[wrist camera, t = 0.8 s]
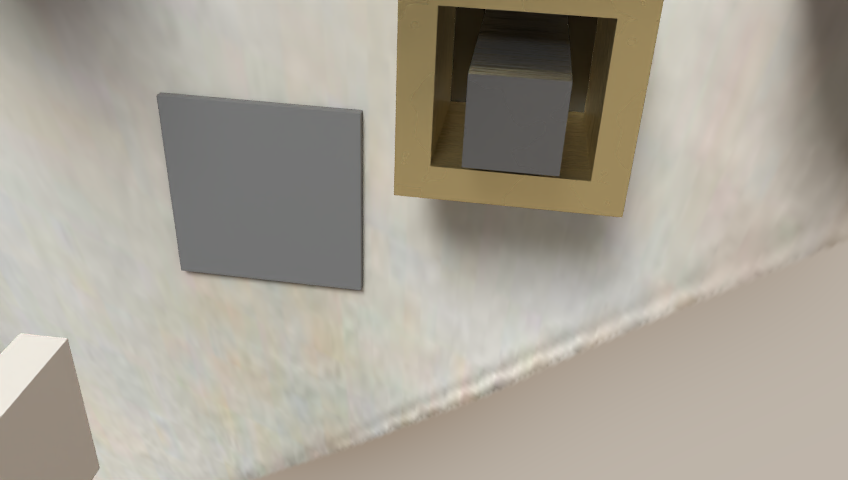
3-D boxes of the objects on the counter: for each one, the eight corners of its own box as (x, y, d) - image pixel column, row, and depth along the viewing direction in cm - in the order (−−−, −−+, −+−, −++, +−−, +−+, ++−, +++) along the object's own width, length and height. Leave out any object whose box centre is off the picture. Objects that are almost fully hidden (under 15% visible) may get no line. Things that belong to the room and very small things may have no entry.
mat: (184, 265, 39) (181, 270, 39) (160, 92, 34) (156, 95, 34) (362, 285, 38) (360, 290, 38) (362, 110, 33) (360, 113, 33)
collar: (420, 126, 33) (393, 195, 28) (427, -73, 29) (398, -40, 24) (609, 143, 33) (622, 217, 27) (644, -59, 29) (667, -22, 23)
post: (482, 74, 32) (461, 167, 24) (488, -1, 30) (468, 73, 23) (557, 80, 32) (559, 176, 24) (566, 5, 30) (572, 81, 22)
